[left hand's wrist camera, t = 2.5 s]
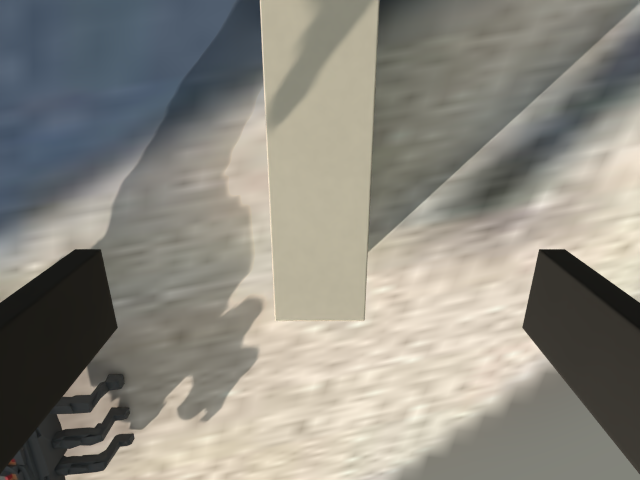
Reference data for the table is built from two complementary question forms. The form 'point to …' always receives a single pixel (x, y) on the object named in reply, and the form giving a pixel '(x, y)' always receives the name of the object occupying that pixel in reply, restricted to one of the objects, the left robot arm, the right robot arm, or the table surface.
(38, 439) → the toy
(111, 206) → the table surface
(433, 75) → the table surface
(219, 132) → the table surface
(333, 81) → the post
